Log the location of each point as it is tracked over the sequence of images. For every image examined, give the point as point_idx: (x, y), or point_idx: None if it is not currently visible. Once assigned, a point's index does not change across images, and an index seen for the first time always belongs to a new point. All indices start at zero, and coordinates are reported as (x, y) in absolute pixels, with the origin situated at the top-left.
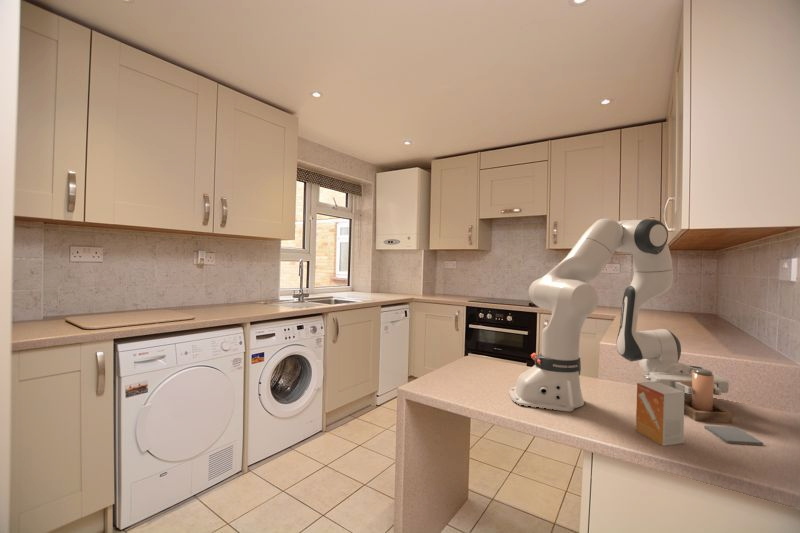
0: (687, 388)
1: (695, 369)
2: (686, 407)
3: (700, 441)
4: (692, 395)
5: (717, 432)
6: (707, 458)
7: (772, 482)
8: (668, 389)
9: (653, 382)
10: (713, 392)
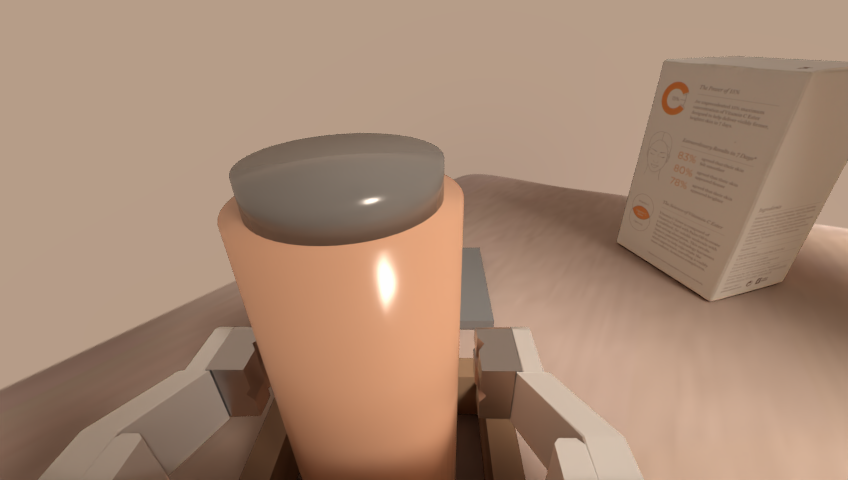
0: (529, 336)
1: (399, 181)
2: (517, 450)
3: (558, 254)
4: (456, 424)
5: (475, 281)
6: (572, 208)
7: (486, 179)
8: (727, 59)
9: (819, 66)
10: (263, 381)
